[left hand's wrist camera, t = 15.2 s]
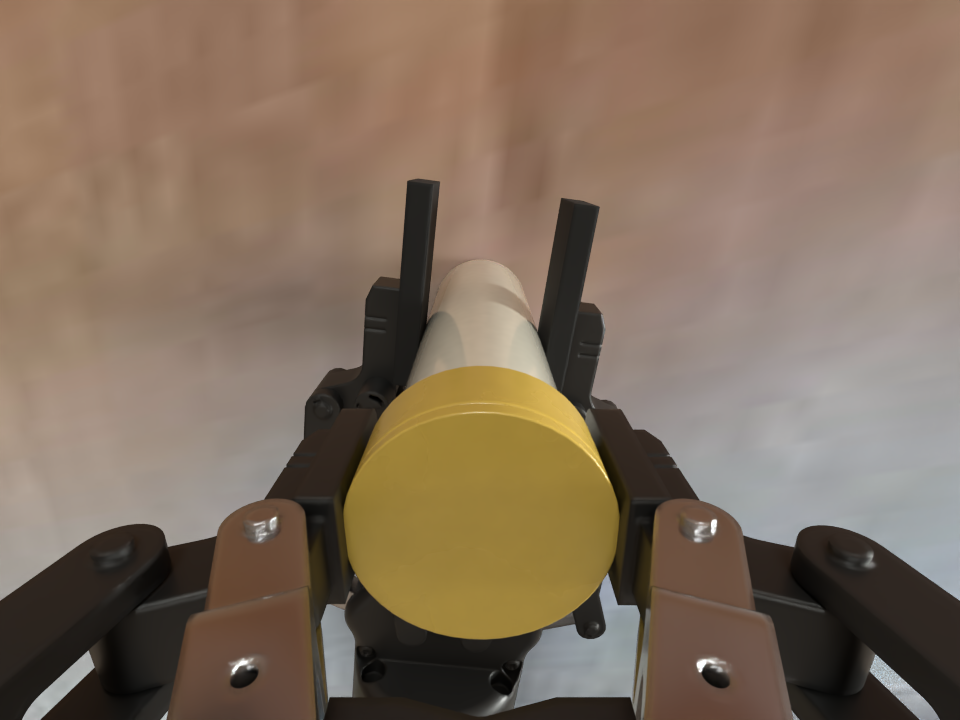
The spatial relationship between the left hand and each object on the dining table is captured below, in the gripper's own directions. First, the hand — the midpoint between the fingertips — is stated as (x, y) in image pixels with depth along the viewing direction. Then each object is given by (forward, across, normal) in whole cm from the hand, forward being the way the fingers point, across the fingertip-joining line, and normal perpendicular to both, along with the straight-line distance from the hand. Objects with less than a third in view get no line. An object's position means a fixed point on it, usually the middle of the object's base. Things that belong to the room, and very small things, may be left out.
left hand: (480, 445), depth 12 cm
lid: (-3, 0, 0) cm, 3 cm away
